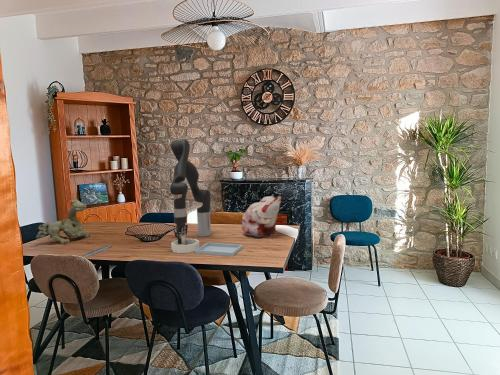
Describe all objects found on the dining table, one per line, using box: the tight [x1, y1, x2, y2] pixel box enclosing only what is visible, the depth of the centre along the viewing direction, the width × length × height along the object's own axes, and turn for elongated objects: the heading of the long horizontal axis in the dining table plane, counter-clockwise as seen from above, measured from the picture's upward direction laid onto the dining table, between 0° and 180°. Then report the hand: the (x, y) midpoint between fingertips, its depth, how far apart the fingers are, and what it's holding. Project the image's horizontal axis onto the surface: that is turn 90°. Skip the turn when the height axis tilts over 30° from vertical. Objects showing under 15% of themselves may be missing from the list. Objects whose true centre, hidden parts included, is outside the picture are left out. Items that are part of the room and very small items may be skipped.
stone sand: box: [181, 234, 186, 244], centre depth 225 cm, size 4×4×5 cm
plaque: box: [81, 245, 115, 259], centre depth 227 cm, size 33×10×1 cm, turn 163°
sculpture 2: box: [241, 195, 282, 238], centre depth 262 cm, size 31×29×30 cm
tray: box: [194, 242, 244, 257], centre depth 223 cm, size 18×24×3 cm
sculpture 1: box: [35, 198, 91, 245], centre depth 257 cm, size 29×27×30 cm
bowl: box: [170, 238, 201, 254], centre depth 227 cm, size 16×16×5 cm
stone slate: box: [185, 238, 192, 245], centre depth 229 cm, size 4×4×5 cm
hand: (181, 242), depth 225 cm, fingers closed on stone sand, 4 cm apart
